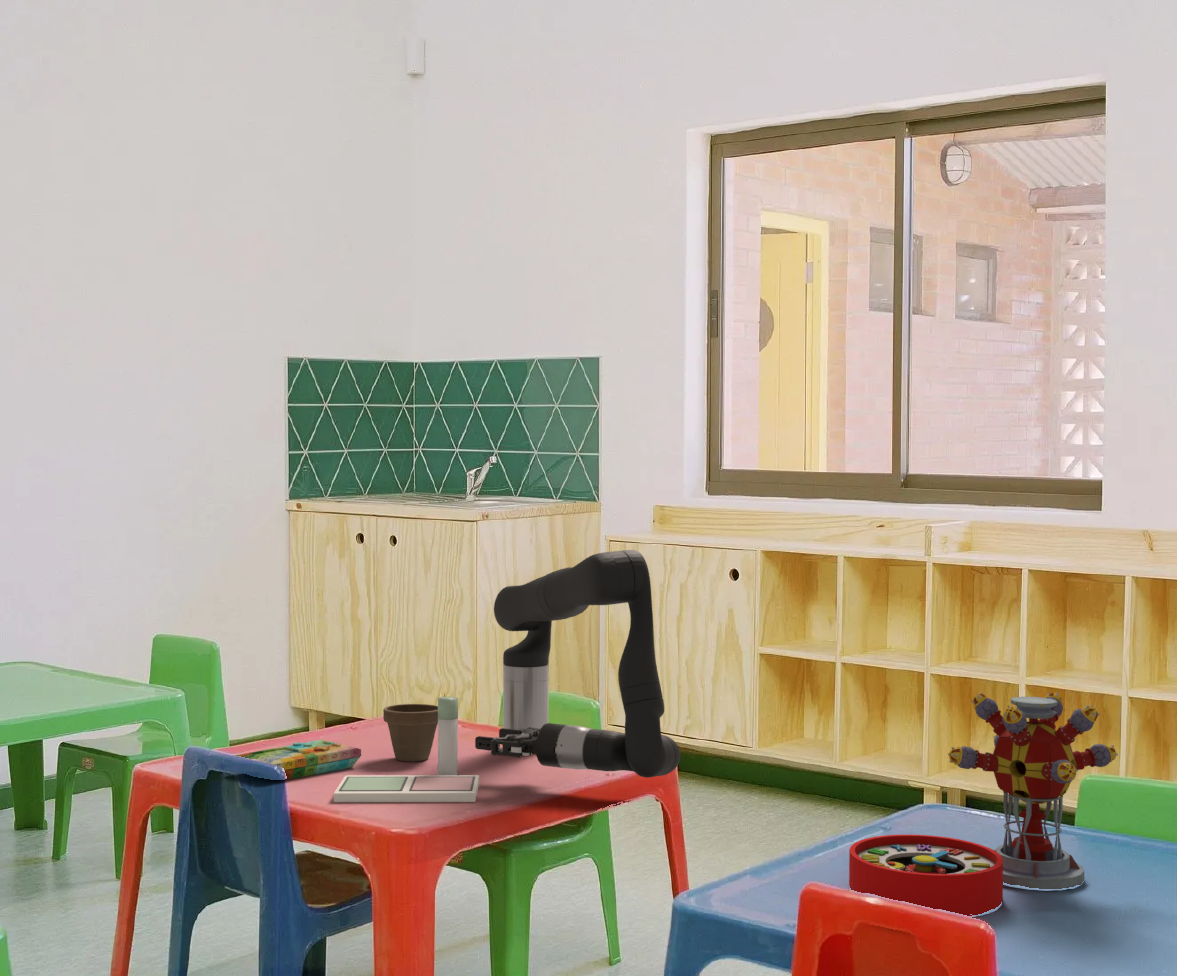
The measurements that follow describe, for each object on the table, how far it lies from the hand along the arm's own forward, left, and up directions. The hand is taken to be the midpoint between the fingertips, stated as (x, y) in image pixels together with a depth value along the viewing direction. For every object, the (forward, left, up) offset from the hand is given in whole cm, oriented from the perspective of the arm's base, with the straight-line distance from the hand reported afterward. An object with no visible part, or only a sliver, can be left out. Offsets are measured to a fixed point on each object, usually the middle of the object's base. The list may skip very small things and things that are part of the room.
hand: (488, 738), depth 253 cm
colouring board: (+8, -14, -8) cm, 18 cm away
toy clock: (+68, +61, -9) cm, 92 cm away
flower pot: (-21, -16, -8) cm, 27 cm away
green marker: (-4, -8, -8) cm, 12 cm away
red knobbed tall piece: (+60, +78, -8) cm, 99 cm away
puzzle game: (-10, -36, -9) cm, 38 cm away
